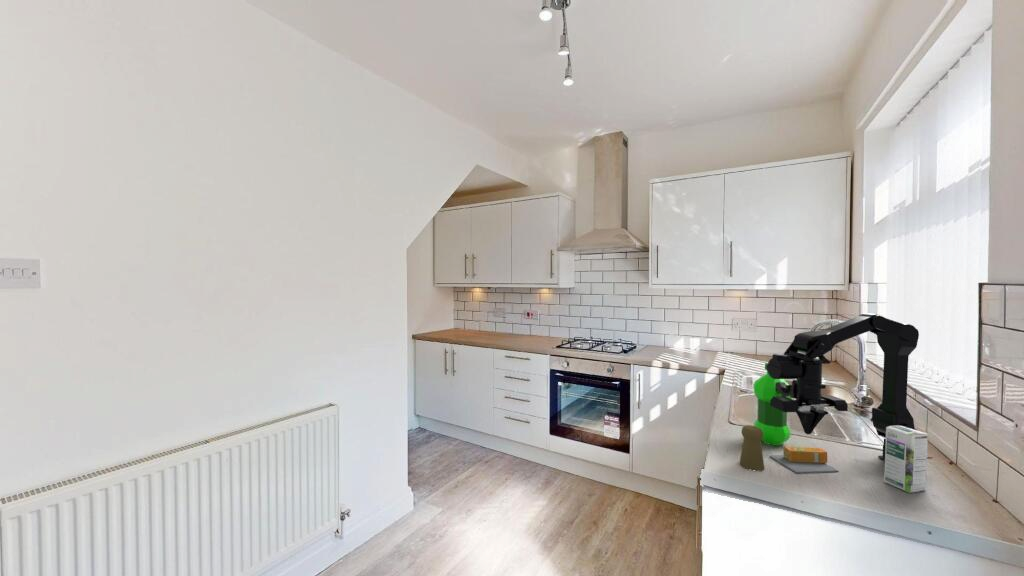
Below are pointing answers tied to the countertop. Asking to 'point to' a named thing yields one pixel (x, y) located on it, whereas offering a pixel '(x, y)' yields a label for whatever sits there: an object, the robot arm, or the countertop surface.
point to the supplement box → (805, 454)
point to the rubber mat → (803, 465)
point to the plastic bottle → (770, 411)
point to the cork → (752, 448)
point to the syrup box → (906, 458)
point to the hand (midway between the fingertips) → (807, 433)
